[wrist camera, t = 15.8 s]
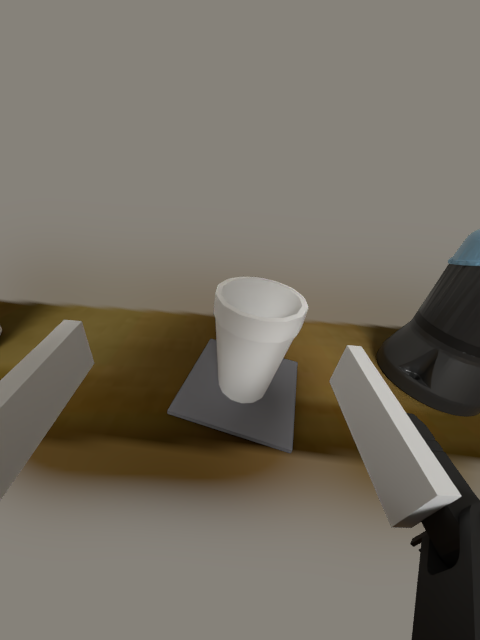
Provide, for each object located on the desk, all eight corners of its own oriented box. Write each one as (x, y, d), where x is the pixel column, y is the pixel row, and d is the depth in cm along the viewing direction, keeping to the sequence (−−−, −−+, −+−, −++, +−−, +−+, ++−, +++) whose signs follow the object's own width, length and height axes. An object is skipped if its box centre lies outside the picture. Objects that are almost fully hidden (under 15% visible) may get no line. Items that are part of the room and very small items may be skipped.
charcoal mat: (296, 365, 36) (297, 362, 36) (290, 453, 25) (292, 450, 25) (210, 341, 38) (210, 338, 38) (167, 413, 27) (167, 410, 26)
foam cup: (212, 354, 35) (221, 271, 28) (274, 362, 35) (298, 283, 28) (201, 409, 27) (209, 313, 20) (281, 419, 27) (317, 329, 20)
